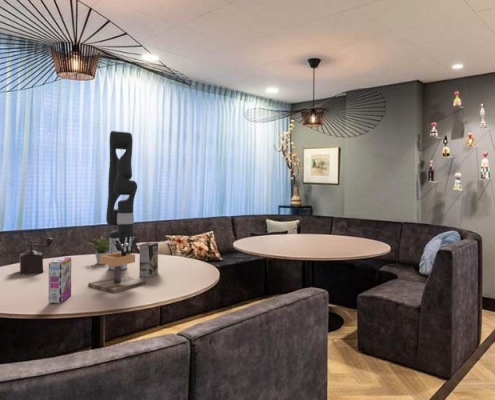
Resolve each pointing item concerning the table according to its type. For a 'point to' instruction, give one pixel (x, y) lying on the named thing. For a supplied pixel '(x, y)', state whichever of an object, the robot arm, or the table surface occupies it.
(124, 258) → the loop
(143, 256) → the coffee box
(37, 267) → the manual coffee grinder
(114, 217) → the robot arm
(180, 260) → the table surface
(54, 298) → the candy bar box
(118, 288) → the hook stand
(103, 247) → the house plant
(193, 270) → the table surface
